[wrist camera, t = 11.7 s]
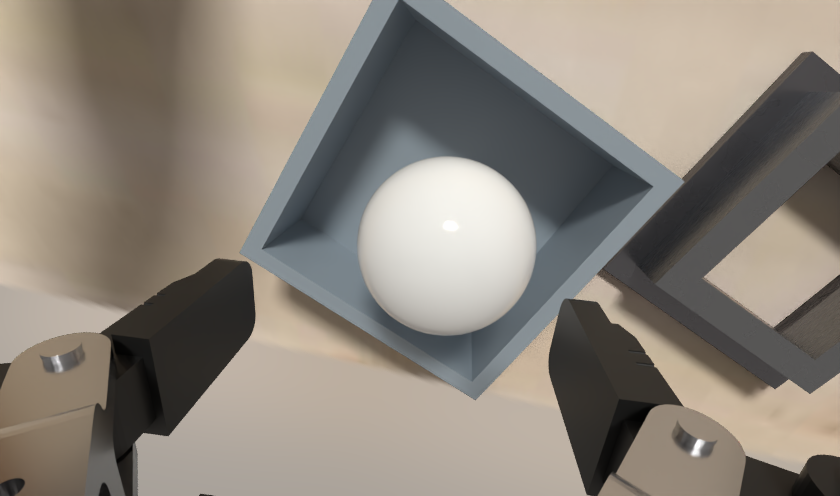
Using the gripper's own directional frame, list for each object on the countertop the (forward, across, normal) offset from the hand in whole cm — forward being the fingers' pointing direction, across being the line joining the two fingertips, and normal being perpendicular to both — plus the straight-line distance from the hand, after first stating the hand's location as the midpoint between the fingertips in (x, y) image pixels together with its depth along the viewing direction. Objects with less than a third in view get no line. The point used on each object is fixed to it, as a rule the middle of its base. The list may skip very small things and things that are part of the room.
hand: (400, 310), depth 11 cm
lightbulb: (+13, -1, 0) cm, 13 cm away
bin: (+13, -1, 0) cm, 13 cm away
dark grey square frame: (+13, -19, +1) cm, 23 cm away
